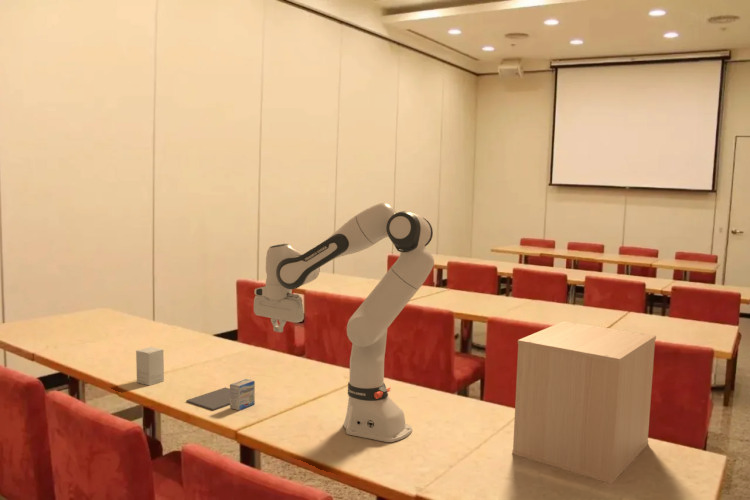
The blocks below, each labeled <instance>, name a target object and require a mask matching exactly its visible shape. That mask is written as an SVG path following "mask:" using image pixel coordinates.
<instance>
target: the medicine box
mask: <svg viewBox="0 0 750 500" xmlns="http://www.w3.org/2000/svg"><path fill="white" fill-rule="evenodd" d="M255 384H256V383H255V380H252V379H249V378H244V379H243V380H239V381H236V382H233V383H231V384H230V385H229V389H230V405H229V408H230V409H232V410H236V411H242V410H244V409H246V408H249V407H251V406H254V405H256V403H255V402H256V401H255V399H256V398H255V397H256V396H255V395H256V394H255V391H256V390H255Z"/></svg>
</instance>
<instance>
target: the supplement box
mask: <svg viewBox="0 0 750 500" xmlns="http://www.w3.org/2000/svg"><path fill="white" fill-rule="evenodd" d="M135 356H136V357H135V361H136V364H135V365H136V383H138V384H142V385H146V386H153V385H155V384H160V383H162V382H165V371H164V370H165V369H164V365H165V363H164V362H165V361H164V358H165V357H164V349H163V348H159V347H158V348H157V347H153V346H149V347H145V348H141V349H138V350H136V351H135Z"/></svg>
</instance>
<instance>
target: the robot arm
mask: <svg viewBox="0 0 750 500" xmlns="http://www.w3.org/2000/svg"><path fill="white" fill-rule="evenodd" d="M433 232H434V230H433V227H432V224H431V223H430V221H428V220H427V219H426V218H424V217H422V216H421V215H419V214H418V213H415V212H411V211H406V210H402V211H399V212H397V211H396V209H394V207H393V206H391V204H389V203H386V202H381V203H378V204H374V205H372V206H370V207H368V208H366V209H364V210H362V211H360V212H359V213H357V214H355V215H354V216H353V217H352V218H350V219H349V220H347V221H346V222H345V223H344V224H343V225H341V227H339V228H338V229H337V230H336V231H335V232H334V233H332V234H331V235H330V236H329V237H328V238H326V239H324V241H322V242H321V243H319V244H317V245H316V246H314V247H312V248H311V249H309V250H308V251H306V252H305V253H304V252H301V251H299V250H297V249H295V248H294V247H293V246H292V245H291V244H289V243H280V244H275V245H271V246H269V247H268V249H267V250H266V256H265V273H266V279H265V285H264V286H261V287H256V288H254V290H253V291H254V292H253V293H254V295H255V296H254V298H253V312H254V315H255V316H259V317H264V318H269V319H270V322H271V324H272V326H273V329H272V330H273V332H276V333H284V327H285V325H286V323H287V322H290V323H300V322H301V323H302V322H303V320H304V318H305V313H304V312H305V311H304V304H303V298H302V297H301V296H300V295H299V294H298V293H297V294H295V293H292V292H293V290H296V289H298V288H300V287H302V286H305V285H306V284H309V283H311V282H313V281H314V280H316V279H317V278H318V276H319V275H320V272H321V271H320V268H321V267H322V266H325V265H326V264H328V263H330V262H331V261H333V260H336V259H337V258H340V257H344V256H347V255H352V254H356V253H360V252H361V251H364V250H367V249H368V248H371V247H372V246H374V245H375V244H377V243H378V242H380V241H382V240H384V239H386V238H388V239H389V240H390V241H391V243H392V245H393V246H394V247H395V249H396V250H397V252H400V253H399V256H398V258H397V259H396V261H395V262H394V263H393V264H392V265H391V266H390V268H389V269H388V270H387V272H386V273H385V274H384V275H383V277H382V278H381V280H380V281H379V282H378V283H377V285H376V286H375V287H374V288H373V289H372V290H371V291H370V293H369V295H368V296H366V298H365V299H364V300H363V302H362V303H361V304H360V305H359V307H358V308H357V309H356V310H355V311H354V313H353V314H352V315H351V316H350V318H349V319H348V322H347V325H346V335H347V338H348V340H349V341H350V342H351V343H352V344H351V352H350V355H349V357H350V358H349V381H348V384H347V394H348V395H347V396H348V399H347V409H346V414H345V418H344V422H343V424H342V425H343V428H344V429H345V433H346V434H347V435H350V436H355V437H358V438H364V439H371V440H375V441H379V442H380V441H381V442H384V443H393V442H397V441H401V440H402V439H405V438H407V437H408V436H409V435H411V434H412V432H413V427H412V425H409V424H407V423H406V418H405V412H404V410H403V409H402V408H400V407H399V406H398V405H397V404H396V402H394V401H393V400H392V399H391V397H390V396H389V392H391V387H388V388H387V387H386V384H385V381H384V380H385V355H386V349H387V348H386V347H387V337H388V328H389V327H390V326H391V324H392V323H393V322H394V321H395V320H396V318H397V317H398V316H399V315H400V313H401V312H402V311H403V309H405V307H406V306H407V304H409V302H410V301H411V299H412V298H413V297H414V295H416V293H417V292H418V291H419V289H420V288H421V287H422V286H423V284H424V283H425V282H426V280H427V279H428V277H429V276H430V274H431V272H432V270H433V268H434V266H435V259H434V256H433V255H432V253H431V252H430V251H429V250H428V249H427V248H426V247H427V246H428V245H429V244H430V243H431V241H432V238H433V235H434V234H433Z"/></svg>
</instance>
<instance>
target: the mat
mask: <svg viewBox="0 0 750 500" xmlns="http://www.w3.org/2000/svg"><path fill="white" fill-rule="evenodd" d="M186 403H189V404H192V405H195V406H198V407H201V408H204V409H207V410H211V411H212V412H213V411H216V410H219V409H222V408H225V407H227V406H230V387H229V388H228V387H226V386H225V387H222V388H219V389H217V390H213V391H210V392H207V393H205V394H200V395H198V396H195V397H193V398H192V397H191V398H188V399H187V400H186Z"/></svg>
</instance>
